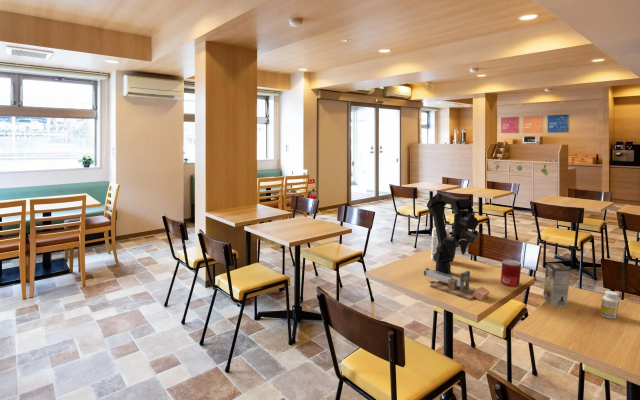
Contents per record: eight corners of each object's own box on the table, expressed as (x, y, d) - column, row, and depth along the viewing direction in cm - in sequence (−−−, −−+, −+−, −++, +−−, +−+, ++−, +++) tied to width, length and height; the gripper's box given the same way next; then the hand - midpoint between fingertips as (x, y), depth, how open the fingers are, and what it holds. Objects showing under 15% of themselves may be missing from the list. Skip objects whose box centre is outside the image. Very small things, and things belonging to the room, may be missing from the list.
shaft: (423, 276, 190) (424, 269, 189) (428, 274, 192) (428, 267, 192) (459, 288, 176) (460, 280, 175) (463, 286, 178) (464, 278, 178)
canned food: (521, 287, 182) (523, 265, 180) (502, 286, 184) (504, 264, 182) (516, 281, 189) (518, 260, 188) (498, 280, 191) (500, 259, 189)
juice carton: (443, 263, 216) (445, 230, 213) (429, 260, 222) (430, 227, 219) (449, 260, 222) (451, 227, 218) (435, 257, 227) (436, 225, 224)
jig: (429, 286, 183) (430, 267, 181) (443, 280, 191) (444, 262, 189) (469, 300, 168) (471, 279, 166) (483, 293, 176) (484, 272, 174)
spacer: (483, 295, 166) (481, 301, 168) (490, 291, 170) (487, 297, 171) (475, 290, 169) (472, 295, 170) (481, 286, 173) (479, 292, 174)
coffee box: (542, 297, 172) (545, 262, 169) (558, 298, 170) (561, 262, 168) (550, 306, 163) (554, 269, 160) (567, 307, 161) (571, 270, 159)
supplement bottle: (608, 319, 151) (611, 295, 149) (596, 313, 156) (599, 290, 155) (620, 318, 152) (623, 294, 150) (608, 312, 157) (611, 289, 155)
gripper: (465, 230, 172) (463, 264, 175) (486, 224, 184) (483, 256, 187) (443, 226, 180) (441, 258, 183) (464, 220, 192) (462, 251, 195)
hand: (458, 256), depth 187 cm, fingers open, 9 cm apart
